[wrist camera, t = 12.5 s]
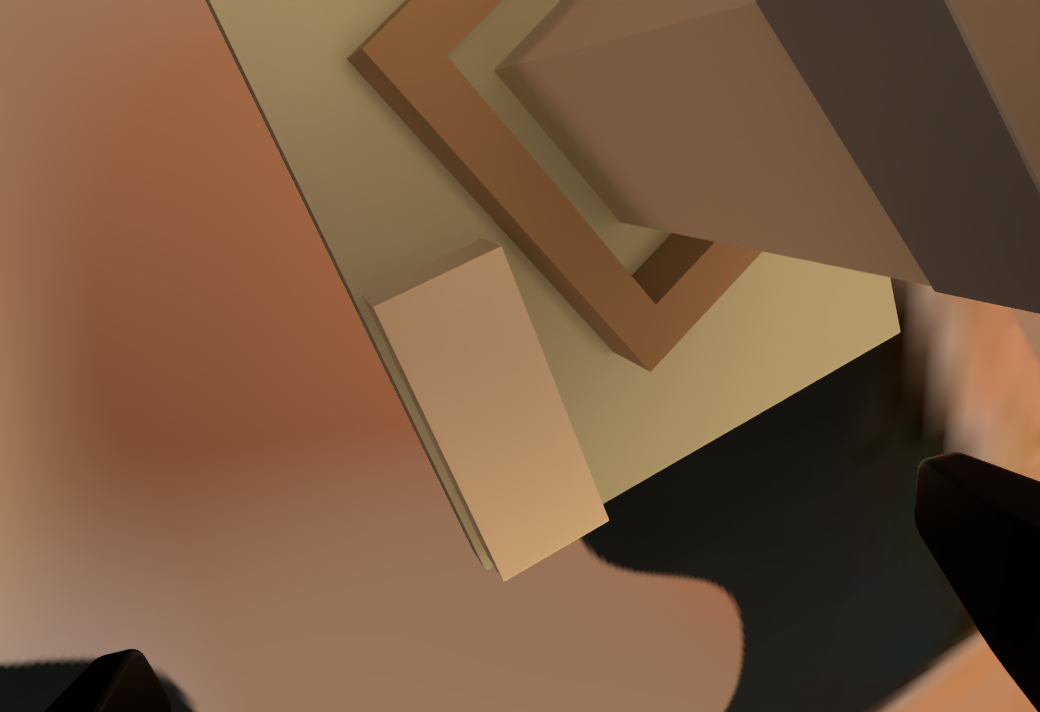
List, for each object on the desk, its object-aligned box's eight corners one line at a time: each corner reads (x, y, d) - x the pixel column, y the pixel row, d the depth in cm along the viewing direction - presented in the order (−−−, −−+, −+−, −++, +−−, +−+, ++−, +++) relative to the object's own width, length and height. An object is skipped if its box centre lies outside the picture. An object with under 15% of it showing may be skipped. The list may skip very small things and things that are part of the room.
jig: (473, 550, 22) (510, 611, 20) (168, -76, 16) (157, -123, 13) (871, 324, 26) (954, 347, 23) (750, -272, 19) (844, -346, 16)
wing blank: (485, 553, 21) (504, 582, 20) (361, 294, 18) (373, 306, 17) (584, 496, 22) (609, 520, 21) (481, 238, 19) (501, 245, 18)
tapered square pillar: (620, 224, 20) (1443, 398, 7) (490, 70, 18) (1327, -146, 4) (749, 85, 20) (1792, -21, 7) (637, -84, 18) (1841, -727, 5)
